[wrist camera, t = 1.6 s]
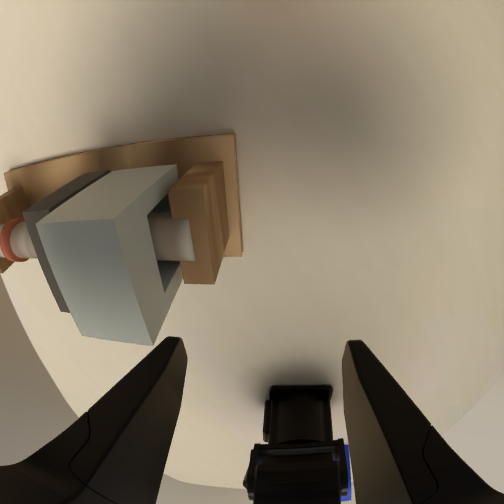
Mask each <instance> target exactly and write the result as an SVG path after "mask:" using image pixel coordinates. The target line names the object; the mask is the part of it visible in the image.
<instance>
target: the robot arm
mask: <svg viewBox="0 0 504 504" xmlns="http://www.w3.org/2000/svg"><path fill="white" fill-rule="evenodd" d="M186 368H187V354H186V350H185V347H184V343H183V340H182V339H181V338H180V337H171V336H169V337H166V338H165V339H164V340H163V341H162V342H161V343H160V344H159V345H158V346H157V347H155V348H154V349H153V350H152V351H151V352H150V353H149V354H148V355H147V356H146V357H145V358H144V359H143V360H141V361H140V362H139V363H138V364H137V365H136V366H135V367H134V368H133V369H132V370H131V371H130V372H129V373H127V374H126V375H125V376H124V377H123V378H122V379H121V380H120V381H119V382H118V383H117V384H116V385H114V386H113V387H112V388H111V389H110V390H109V391H108V392H107V393H106V394H105V395H104V396H103V397H102V398H100V399H99V400H98V401H97V402H96V403H95V404H94V405H93V406H92V407H91V408H90V409H89V410H88V412H85V413H84V414H83V415H82V416H81V417H80V418H79V419H78V420H76V421H75V422H74V423H73V424H72V425H71V426H70V427H68V428H67V429H66V430H65V431H64V432H62V433H61V434H60V435H58V436H57V437H56V438H54V439H53V440H52V441H50V442H49V443H47V444H46V445H45V446H43V447H42V448H40V449H39V450H38V451H36V452H35V453H34V454H32V455H31V456H29V457H28V458H26V459H25V460H23V461H21V462H19V463H16V464H12V465H7V466H0V504H156V500H157V496H158V492H159V488H160V484H161V480H162V476H163V472H164V468H165V464H166V461H167V457H168V453H169V449H170V445H171V442H172V438H173V434H174V430H175V427H176V423H177V419H178V415H179V412H180V407H181V402H182V395H183V388H184V381H185V375H186ZM342 377H343V400H344V415H345V422H346V429H347V435H348V442H349V449H350V457H351V464H352V472H353V480H354V489H355V498H356V504H504V494H503V493H501V492H498V491H496V490H495V489H493V488H492V487H490V486H489V485H488V484H487V483H486V482H485V481H484V480H483V479H481V477H480V476H479V475H477V474H476V473H475V472H474V471H473V470H472V469H471V468H470V467H469V466H468V465H467V464H466V463H465V462H464V461H463V460H462V459H461V458H460V457H459V456H458V455H457V454H456V452H454V450H453V449H452V448H451V447H450V446H449V445H448V444H447V443H446V441H445V440H444V439H443V438H442V437H441V435H440V434H439V433H438V432H437V430H436V429H435V428H434V427H433V426H431V423H430V422H429V421H428V419H427V418H426V417H425V416H424V414H423V413H422V412H421V411H420V410H419V408H418V407H417V406H416V405H415V403H414V402H413V401H412V400H411V398H410V397H409V396H408V395H407V394H406V392H405V391H404V390H403V389H402V388H401V386H400V385H399V384H398V383H397V381H396V380H395V379H394V378H393V377H392V375H391V374H390V373H389V372H388V371H387V369H386V368H385V367H384V366H383V365H382V363H381V362H380V361H379V360H378V359H377V357H376V356H375V355H374V354H373V353H372V352H371V350H370V349H369V348H368V347H367V346H366V344H365V343H364V342H363V341H362V340H349V341H347V343H346V346H345V350H344V354H343V358H342ZM332 392H333V388H332V386H273V387H271V388H270V400H266V401H265V410H264V424H263V440H264V441H265V442H268V444H254V449H252V450H251V455H250V463H249V467H248V469H247V472H246V475H245V478H244V480H243V486H244V487H245V488H246V489H247V492H248V497H249V499H250V500H253V501H254V503H253V504H341V497H342V496H347V492H348V470H347V462H346V455H345V447H344V440H343V438H341V439H338V440H333V432H332V419H331V407H330V399H331V396H332Z"/></svg>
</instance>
